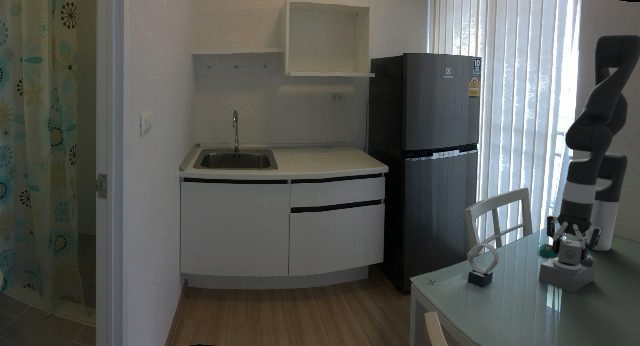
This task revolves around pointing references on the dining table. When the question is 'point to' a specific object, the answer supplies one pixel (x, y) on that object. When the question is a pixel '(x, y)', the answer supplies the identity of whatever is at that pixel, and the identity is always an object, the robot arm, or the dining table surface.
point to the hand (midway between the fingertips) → (568, 256)
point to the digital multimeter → (549, 251)
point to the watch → (479, 274)
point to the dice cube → (569, 251)
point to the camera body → (568, 273)
